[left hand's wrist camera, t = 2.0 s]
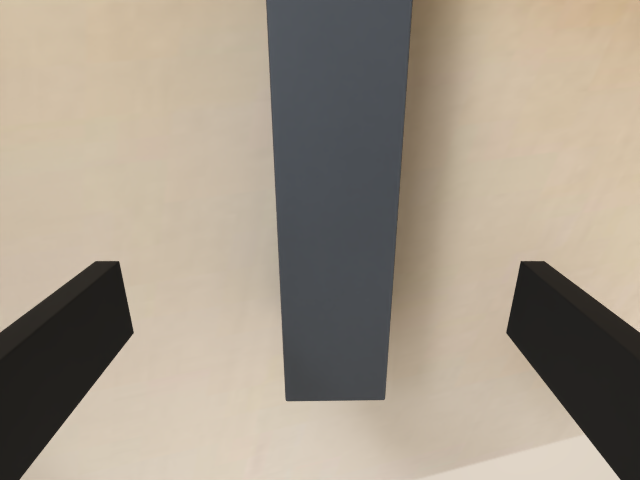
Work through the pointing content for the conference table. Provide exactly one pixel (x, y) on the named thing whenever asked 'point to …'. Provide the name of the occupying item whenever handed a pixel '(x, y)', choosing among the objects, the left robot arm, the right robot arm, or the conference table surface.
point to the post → (337, 187)
